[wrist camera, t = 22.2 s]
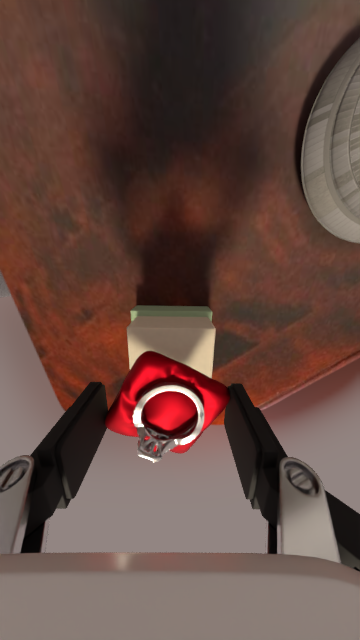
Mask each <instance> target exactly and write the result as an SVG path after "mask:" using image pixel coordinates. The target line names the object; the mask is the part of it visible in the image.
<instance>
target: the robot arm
mask: <svg viewBox="0 0 360 640" xmlns="http://www.w3.org/2000/svg"><path fill="white" fill-rule="evenodd" d="M228 389H229V393H230V400H229V402H228V404H227V406H226V409H225V418H224V425H225V429H226V433H227V436H228V439H229V443H230V446H231V450H232V453H233V456H234V460H235V463H236V467H237V470H238V474H239V477H240V480H241V484H242V487H243V490H244V494H245V497H246V499H250V502H251V505H252V508H253V509H260V511H261V513H262V516H263V517H264V518H265V519H266V549H265V554H257V553H45V551H46V543H47V535H48V527H49V520H50V517H51V516H52V515H53V513H54V511H55V509H56V508H67V506H68V504H69V502H70V500H71V499H73V498H74V497H75V496H76V494H77V492H78V490H79V487H80V485H81V483H82V481H83V479H84V477H85V475H86V473H87V470H88V468H89V466H90V464H91V461H92V459H93V457H94V455H95V453H96V451H97V448H98V446H99V444H100V442H101V440H102V438H103V435H104V433H105V431H106V429H107V427H106V425H105V419H106V415H107V412H108V407H107V399H106V392H105V385H102V383H101V382H90V383H89V385H88V386H87V387H86V388H85V390H84V391H83V392H82V393H81V395H80V396H79V397H78V398H77V400H76V401H75V402H74V403H73V405H72V406H71V407H69V408H68V410H67V411H66V412H65V413H64V415H63V416H62V417H61V418H60V420H59V421H58V422H57V423H56V424H55V426H54V427H53V428H52V429H51V431H50V432H49V433H48V434H47V435H46V437H45V438H44V439H43V440H42V442H41V443H40V444H39V445H38V447H37V448H36V449H35V450H34V452H33V453H32V454H31V455H30V456H29V455H23V456H20V457H16V458H14V459H12V460H10V461H8V462H6V463H5V464H3V465H2V466H0V640H360V514H359V513H357V512H356V511H354V510H353V509H351V508H350V507H349V506H347V505H346V504H344V503H343V502H341V501H340V500H339V499H337V498H336V497H334V496H333V495H331V494H330V493H328V492H327V491H325V489H324V486H323V484H322V481H321V480H320V478H319V476H318V475H317V474H316V473H315V471H314V470H313V469H312V468H311V467H309V466H308V465H307V464H306V463H304V462H302V461H301V460H299V459H296V458H293V457H288V456H287V455H286V453H285V451H284V450H283V448H282V446H281V445H280V443H279V441H278V439H277V438H276V436H275V434H274V433H273V431H272V429H271V427H270V426H269V424H268V422H267V421H266V419H265V417H264V415H263V414H262V412H261V410H260V409H259V408H258V407H254V405H253V403H252V402H251V400H250V398H249V396H248V394H247V393H246V391H245V389H244V387H243V385H242V384H231V386H228Z"/></svg>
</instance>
